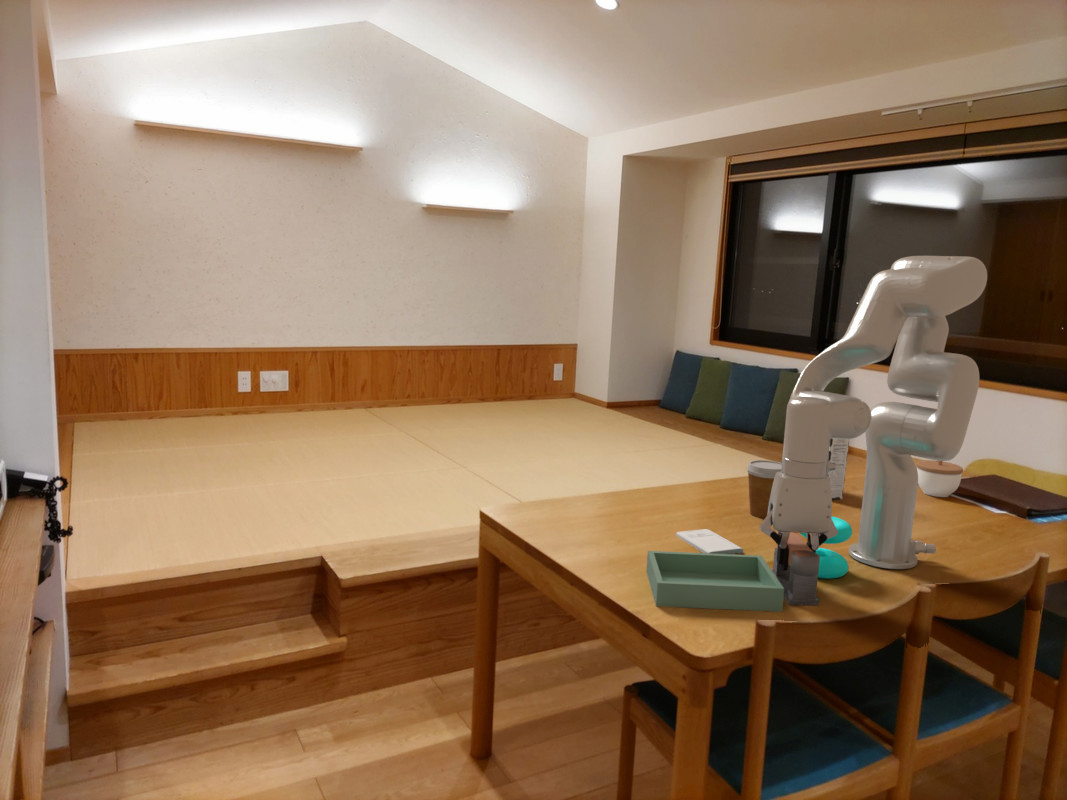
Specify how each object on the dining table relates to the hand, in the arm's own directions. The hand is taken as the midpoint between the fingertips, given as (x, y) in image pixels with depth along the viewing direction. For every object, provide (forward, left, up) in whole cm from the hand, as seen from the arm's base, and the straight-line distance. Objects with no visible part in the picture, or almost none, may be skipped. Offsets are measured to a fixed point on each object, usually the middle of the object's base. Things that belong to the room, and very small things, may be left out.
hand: (794, 567), depth 139 cm
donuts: (-8, -10, -5) cm, 14 cm away
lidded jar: (-57, -68, -5) cm, 89 cm away
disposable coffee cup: (-6, -44, -4) cm, 45 cm away
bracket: (0, 0, -4) cm, 4 cm away
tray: (+15, +2, -4) cm, 16 cm away
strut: (0, 0, +1) cm, 1 cm away
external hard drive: (+11, -22, -5) cm, 25 cm away
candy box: (-25, -65, -5) cm, 70 cm away
